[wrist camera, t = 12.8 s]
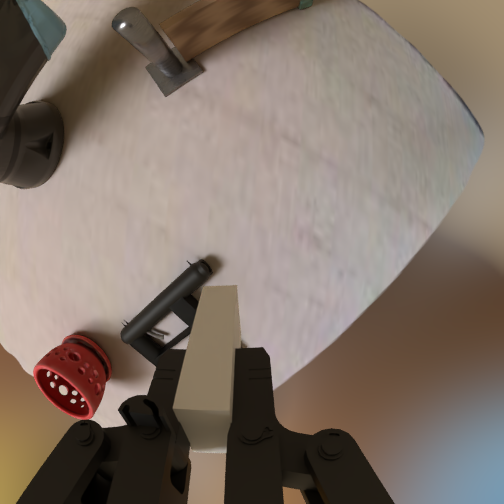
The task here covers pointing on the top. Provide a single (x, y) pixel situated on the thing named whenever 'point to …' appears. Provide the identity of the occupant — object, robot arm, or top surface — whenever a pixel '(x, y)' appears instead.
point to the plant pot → (74, 375)
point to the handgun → (167, 301)
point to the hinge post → (155, 51)
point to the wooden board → (220, 21)
